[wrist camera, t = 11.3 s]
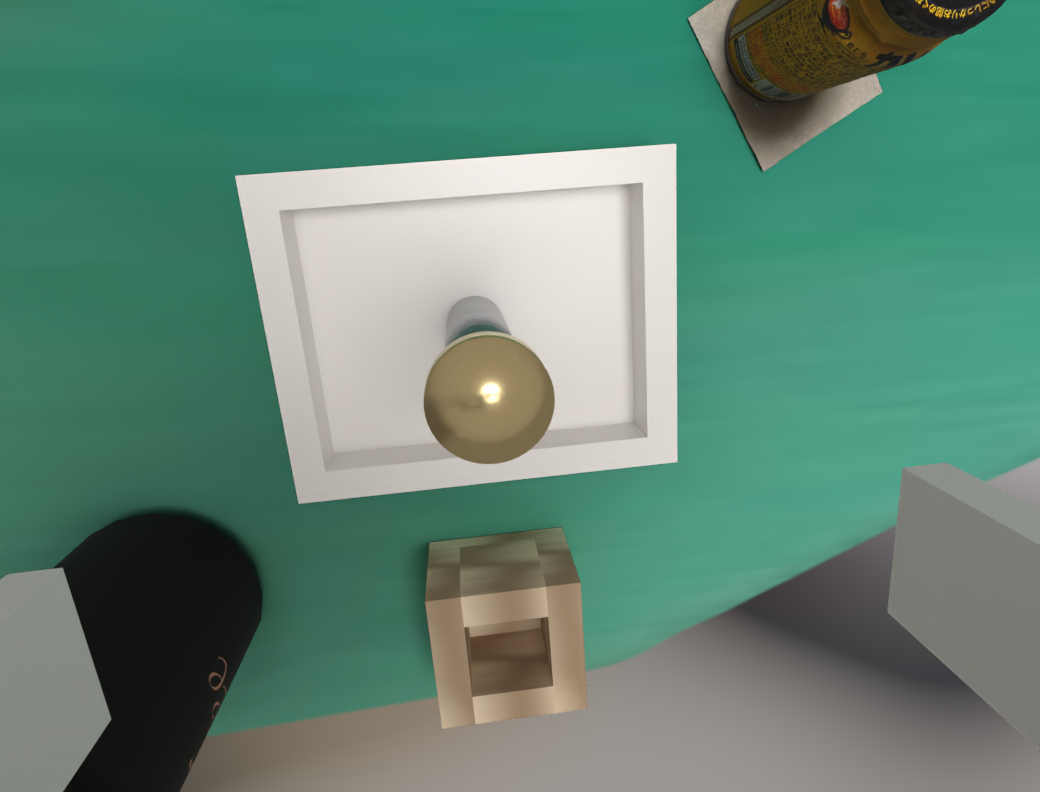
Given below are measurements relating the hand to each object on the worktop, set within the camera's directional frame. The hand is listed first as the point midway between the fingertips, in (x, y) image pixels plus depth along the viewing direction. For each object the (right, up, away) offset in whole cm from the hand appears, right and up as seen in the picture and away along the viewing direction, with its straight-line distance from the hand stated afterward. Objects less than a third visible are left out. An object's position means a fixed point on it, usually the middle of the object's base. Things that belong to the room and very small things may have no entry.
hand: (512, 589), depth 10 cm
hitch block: (-1, -9, +29) cm, 31 cm away
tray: (-2, +7, +24) cm, 25 cm away
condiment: (+14, +20, +22) cm, 33 cm away
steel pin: (-2, +7, +23) cm, 24 cm away
